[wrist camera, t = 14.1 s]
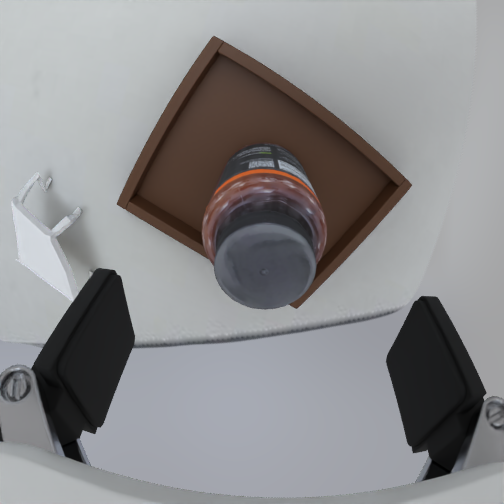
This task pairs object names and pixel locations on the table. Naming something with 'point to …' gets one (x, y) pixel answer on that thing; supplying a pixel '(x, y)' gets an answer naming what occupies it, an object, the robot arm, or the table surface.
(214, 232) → the supplement bottle
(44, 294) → the table surface
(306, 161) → the serving tray
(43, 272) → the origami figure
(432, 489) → the robot arm
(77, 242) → the table surface
